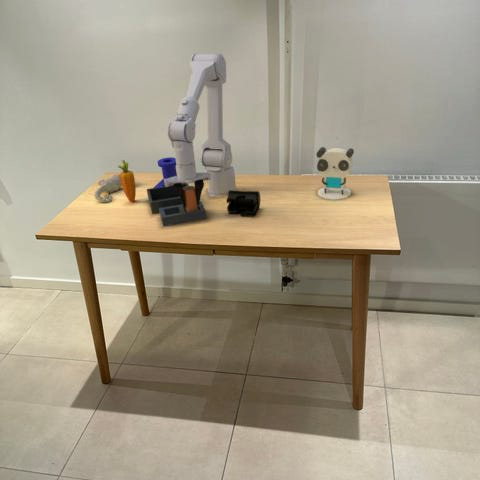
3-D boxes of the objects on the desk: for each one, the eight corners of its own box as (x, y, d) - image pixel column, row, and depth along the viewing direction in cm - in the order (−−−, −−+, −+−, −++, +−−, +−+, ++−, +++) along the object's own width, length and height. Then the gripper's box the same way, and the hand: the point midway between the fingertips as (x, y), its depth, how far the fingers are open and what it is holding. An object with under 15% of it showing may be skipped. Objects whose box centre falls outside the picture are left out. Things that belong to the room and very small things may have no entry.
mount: (169, 176, 186) (166, 153, 180) (187, 177, 184) (184, 154, 178) (154, 190, 174) (149, 167, 169) (172, 191, 172) (169, 168, 167)
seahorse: (118, 201, 166) (139, 172, 179) (87, 190, 165) (110, 162, 179) (117, 212, 169) (138, 184, 183) (87, 202, 169) (109, 174, 182)
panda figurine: (312, 197, 161) (313, 153, 152) (320, 185, 169) (322, 142, 160) (347, 201, 157) (350, 156, 148) (353, 188, 165) (357, 144, 156)
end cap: (260, 207, 157) (260, 188, 152) (256, 217, 151) (255, 197, 147) (232, 206, 159) (230, 187, 155) (226, 215, 153) (224, 195, 149)
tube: (196, 206, 154) (194, 184, 150) (199, 211, 151) (196, 189, 146) (184, 208, 153) (181, 186, 149) (186, 213, 150) (183, 191, 146)
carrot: (136, 206, 164) (127, 163, 155) (123, 206, 165) (113, 163, 156) (141, 200, 168) (133, 158, 159) (128, 200, 169) (119, 158, 160)
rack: (160, 217, 155) (158, 208, 153) (202, 211, 157) (201, 201, 155) (163, 227, 149) (161, 217, 147) (206, 220, 151) (205, 210, 149)
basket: (189, 195, 169) (187, 182, 166) (195, 208, 159) (193, 195, 157) (148, 201, 167) (146, 189, 164) (152, 215, 157) (150, 202, 154)
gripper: (163, 170, 138) (170, 213, 147) (211, 163, 141) (215, 205, 149) (160, 162, 144) (167, 204, 152) (206, 155, 146) (211, 197, 155)
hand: (191, 204), depth 151 cm, fingers closed on tube, 4 cm apart
